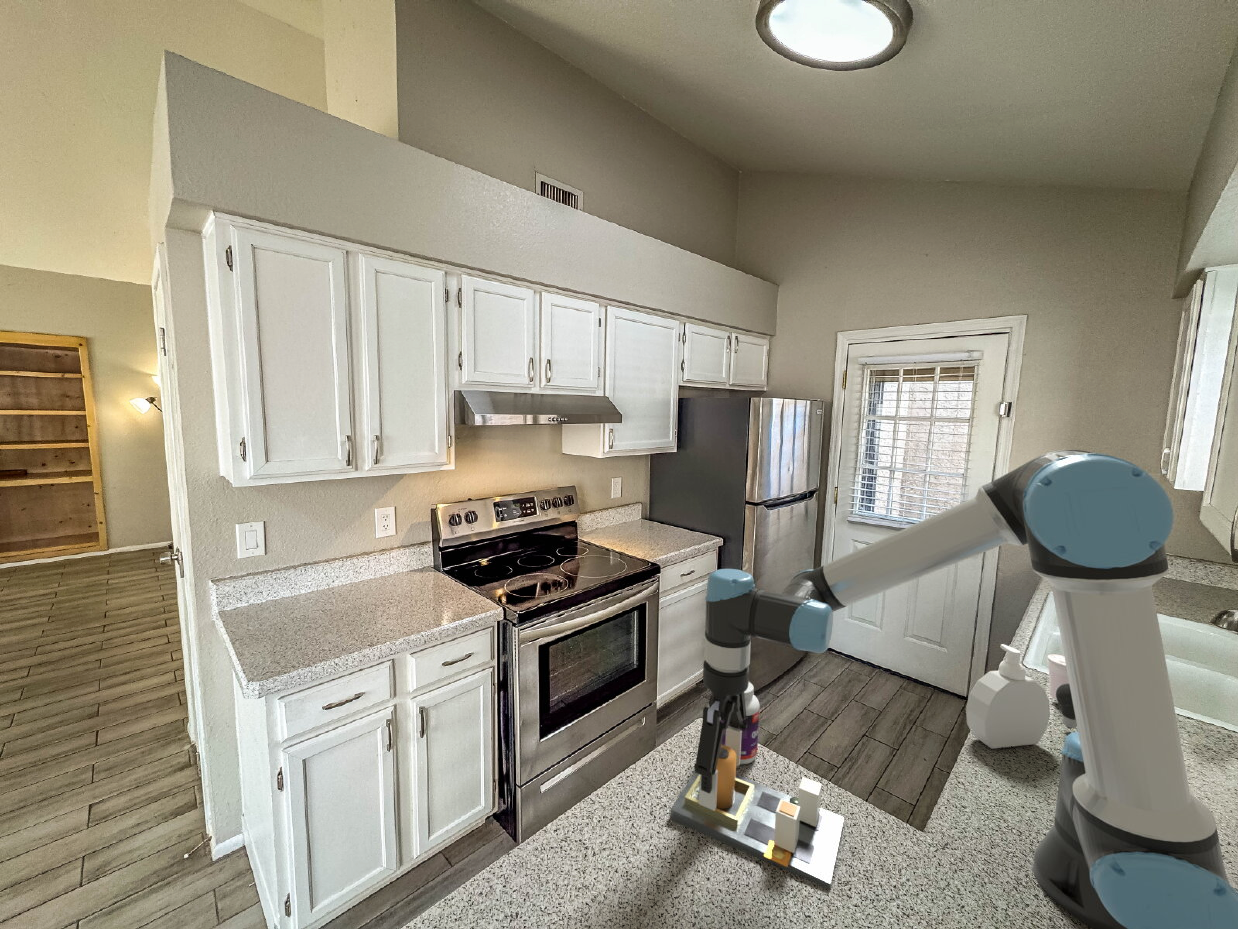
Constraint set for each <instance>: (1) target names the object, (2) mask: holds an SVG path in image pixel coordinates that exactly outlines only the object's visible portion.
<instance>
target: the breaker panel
mask: <svg viewBox="0 0 1238 929" xmlns="http://www.w3.org/2000/svg"><path fill="white" fill-rule="evenodd" d="M699 789H700V774H698V773H695V772H694V773H693V774H692V776H691V777H690V779H689V780H688V782H687V783H686V784H685V786H684V788H683V790H682V791H681V792H680V794H679V796H678V797H677V799H676V800H675V801H674V803H673V805H672V806H671V808H670V811H669V812H670V813H669V815H670V816H669V820H671V821H674V822H676V823H678V824H679V825H682V826H685V827H686V828H689V829H691V830H693V831H695V832H699V833H700V834H702V835H705V836H706V837H709V838H712V839H714V840H717V841H719V842H721V843H723V844H725V845H728V846H730V847H732V848H735V849H737V850H738V851H741V852H743V853H745V854H748V855H751V856H753V857H755V858H758V859H759V860H762V861H764V862H766V863H769V864H771V865H773V866H776V867H777V868H780V869H781V870H784V871H787V872H790V873H791V874H793V875H796V876H798V877H799V878H803V879H805V880H807V881H810V882H811V883H814V884H817V885H819V886H821V887H823V888H825V889H828V890H831V886H832V881H833V876H834V872H835V868H836V862H837V858H838V853H839V850H840V845H841V839H842V835H843V830H844V826H845V817H844V816H842V815H839V814H836V813H834V812H833V811H830V810H827V809H824V808H821V807H820V815H819V819H818V822H817V826H816V827H815V826H812V825H810V824H807V823H805V822H803V821H800V822H799V837H798V842H797V845H796V849H795V852H794V853H792V852H790V851H788V850H785V849H783V848H781V847H779V846H776V845H774V834H775V818H776V810H777V807H778V805H779V802H780V799H782V800H785V801H787V802H790V803H792V804H795V805H797V806H798V796H797V797H796V796H792V795H788V794H786V793H784V792H781V791H778V790H776V789H774V788H771V787H769V786H766V785H764V784H761V783H759V782H756V781H753V780H751V779H749V778H746V777H744V776H741V775H738V774H736V777H735V797H734V803H733V805H732V806H731V807H729V808H723V809H722V808H717V807H716V809H715V811H713V810H711V809H709V808H707V807H704V806H702V805H700V804H699Z"/></svg>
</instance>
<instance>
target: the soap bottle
mask: <svg viewBox="0 0 1238 929" xmlns="http://www.w3.org/2000/svg"><path fill="white" fill-rule="evenodd" d="M999 648H1001V649H1002V650H1003V651H1005V652H1006V653H1007V656H1006V657H1007V658H1006V659H1005V660H1002V661H1000V663H999V665H998V670H990V671H988V672H987V673H985V674H984V675H983V676H981V678H979V679H978V680H977V681H976V683H975V685H974V686H973V688H972V690H971V691H970V692H969V696H968V698H967V699H968V700H967V703H966V707H965V713H966V714H965V715H966V724H967V726H968V728H969V730H970V732H971V729H972V732H971V734H972V736H974V738H977V739H978V740H979V741H981V742H982V743H983V744H985V746H988V748H990V749H991V750H992V749H1001V748H1002V747H1003V748H1011V746H1012V747H1019V746H1029V745H1037V744H1039V742H1040V740H1041V739H1042V738H1043V736H1044V734H1045V733H1046V732H1047V728H1048V724H1049V721H1050V717H1051V708H1050V699H1049V697H1048V695H1047V693H1046V692H1047V691H1046V690H1045V688H1044V686H1042V685H1041V684H1040V683H1039V682H1037V681H1036V680H1034V679H1033V678H1031V677H1030V676H1027V675H1026V674H1027V672H1026V669H1025V666H1024V665H1022V664H1021V663H1020V659H1021V650H1020V649H1016V648H1014V647H1012V646H1010V645H1007V644H1005V643H1003V644H1002V643H1001V644H1000V647H999ZM972 727H973V728H972Z"/></svg>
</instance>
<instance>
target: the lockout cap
mask: <svg viewBox="0 0 1238 929" xmlns="http://www.w3.org/2000/svg"><path fill="white" fill-rule="evenodd" d="M736 757H737V756H736V753H735V751H734V750H733V749H731V748H730V747H728V746H725V745H721V748H720V753H719V757H718V762H717V766H716V770H718V783H717V804H716V807H717V808H722V809H723V808H729V807H731V806H732V805H733V803H734V797H735V777H736V775H737V773H736V772H737V765H736Z"/></svg>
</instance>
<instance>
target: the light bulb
mask: <svg viewBox="0 0 1238 929" xmlns="http://www.w3.org/2000/svg"><path fill="white" fill-rule="evenodd" d="M1056 698H1057V700H1056V701H1057V702H1058V704H1059V706H1060V709H1061V714H1062V718H1061V722H1062V725H1064V726H1065V727H1066V729H1068V730H1072V729H1076V728H1077V723H1076V717H1075V712H1074V706H1073V701H1072V695H1071V690H1070V684H1063V685H1061V686H1060V687H1058V689H1057V691H1056Z"/></svg>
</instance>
